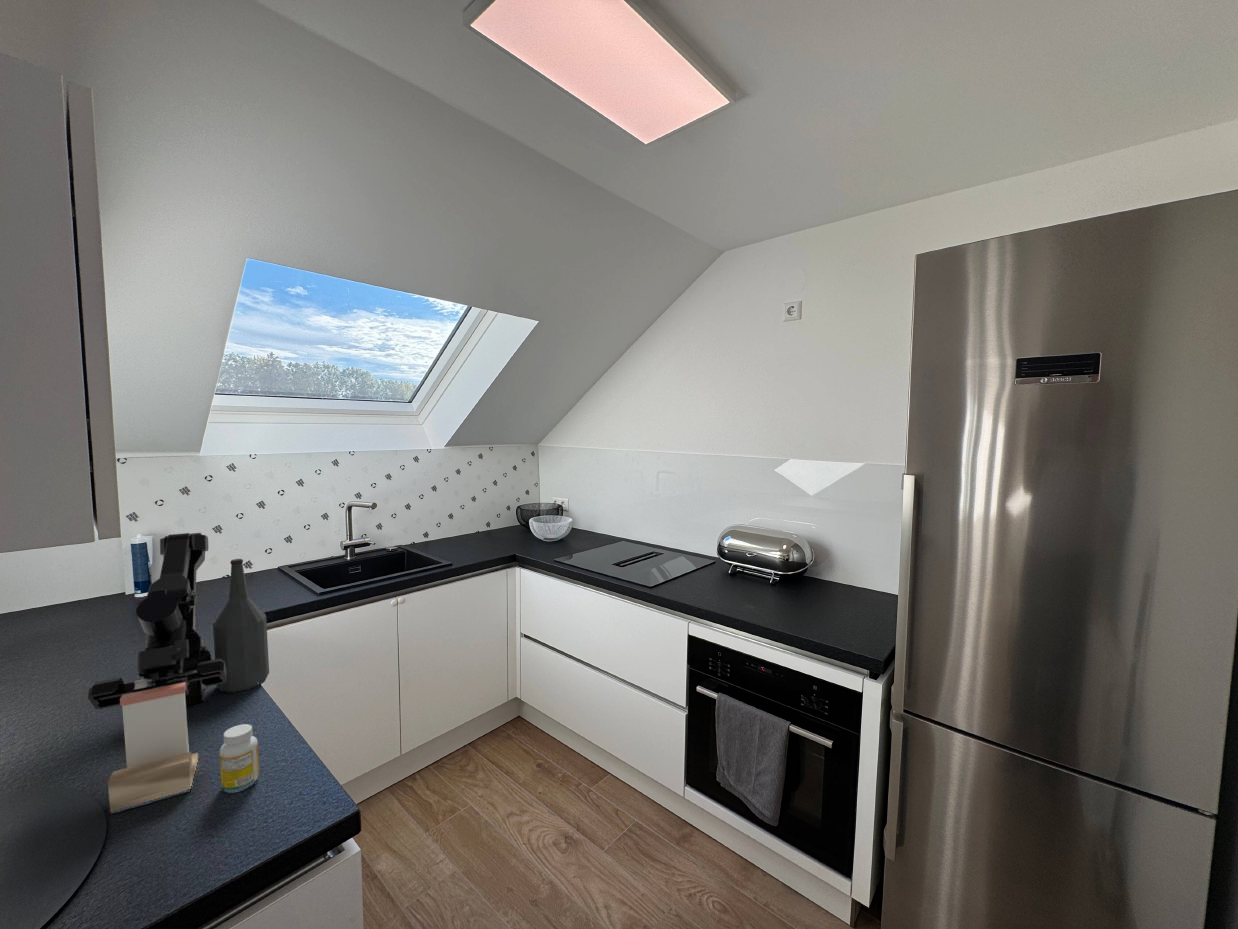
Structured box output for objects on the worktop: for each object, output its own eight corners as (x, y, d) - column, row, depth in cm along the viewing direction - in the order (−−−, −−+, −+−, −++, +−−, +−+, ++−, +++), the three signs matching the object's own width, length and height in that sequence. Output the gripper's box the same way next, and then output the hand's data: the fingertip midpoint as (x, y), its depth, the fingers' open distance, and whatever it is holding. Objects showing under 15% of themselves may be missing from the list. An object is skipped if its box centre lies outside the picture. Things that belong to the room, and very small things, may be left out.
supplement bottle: (245, 795, 89) (242, 740, 88) (213, 794, 89) (210, 740, 89) (266, 773, 95) (263, 721, 94) (236, 773, 95) (233, 721, 94)
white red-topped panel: (128, 774, 92) (122, 694, 90) (191, 758, 96) (185, 682, 95) (126, 780, 90) (119, 699, 89) (189, 763, 95) (184, 686, 93)
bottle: (228, 697, 121) (221, 567, 118) (209, 686, 126) (201, 561, 123) (277, 679, 129) (271, 557, 127) (257, 669, 134) (250, 552, 132)
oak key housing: (126, 779, 93) (123, 749, 93) (198, 760, 98) (196, 731, 98) (110, 815, 85) (107, 782, 84) (190, 792, 90) (188, 760, 89)
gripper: (86, 638, 92) (70, 731, 83) (221, 617, 102) (219, 698, 93) (103, 665, 99) (89, 753, 90) (227, 643, 109) (225, 720, 100)
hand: (158, 730), depth 93 cm, fingers closed, pressing on white red-topped panel
